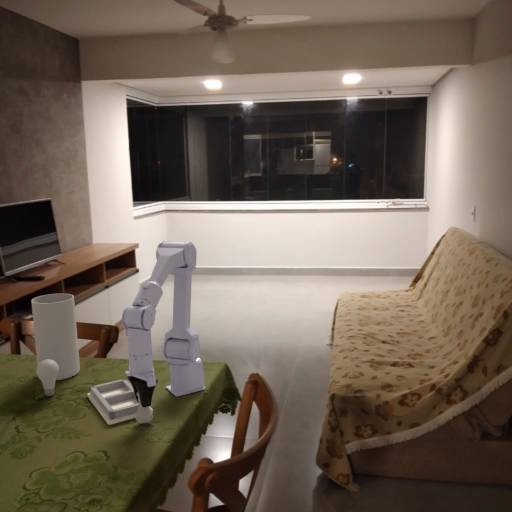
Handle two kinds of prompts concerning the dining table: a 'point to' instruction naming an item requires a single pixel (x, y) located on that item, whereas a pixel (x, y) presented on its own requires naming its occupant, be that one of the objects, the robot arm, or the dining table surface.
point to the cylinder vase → (56, 332)
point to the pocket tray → (114, 401)
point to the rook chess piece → (143, 413)
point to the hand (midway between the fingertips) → (143, 403)
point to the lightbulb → (48, 375)
